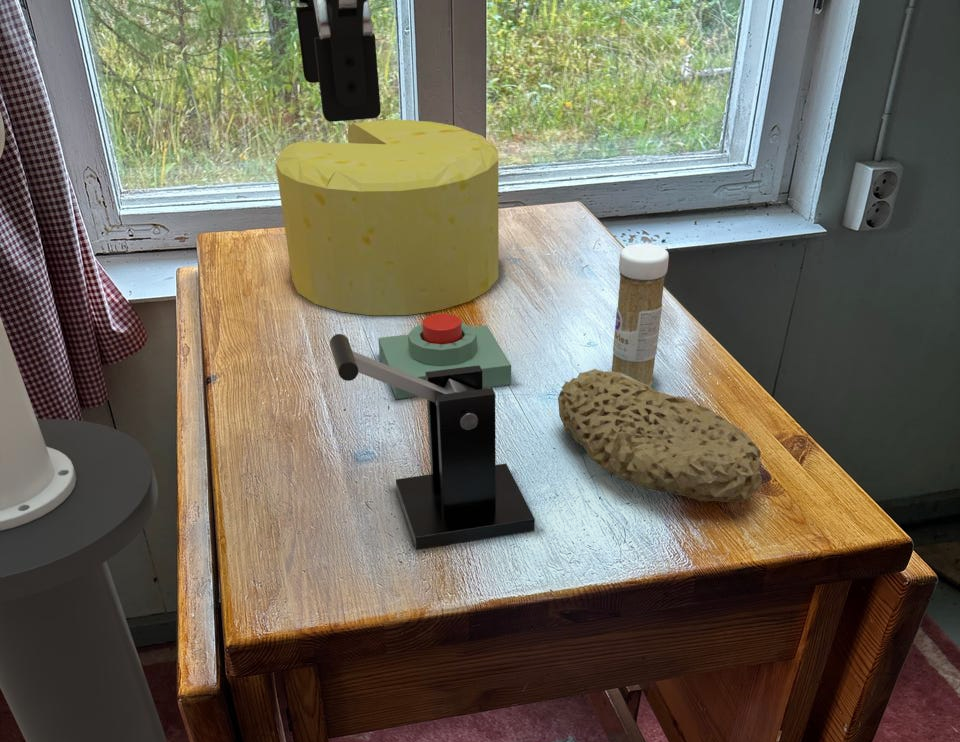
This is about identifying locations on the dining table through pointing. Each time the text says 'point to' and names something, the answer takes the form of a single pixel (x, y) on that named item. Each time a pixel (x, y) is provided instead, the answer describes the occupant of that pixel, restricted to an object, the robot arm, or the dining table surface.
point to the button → (442, 329)
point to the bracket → (462, 471)
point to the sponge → (659, 438)
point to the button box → (446, 356)
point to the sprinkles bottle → (639, 310)
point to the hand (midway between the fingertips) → (340, 98)
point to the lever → (385, 372)
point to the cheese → (392, 217)
